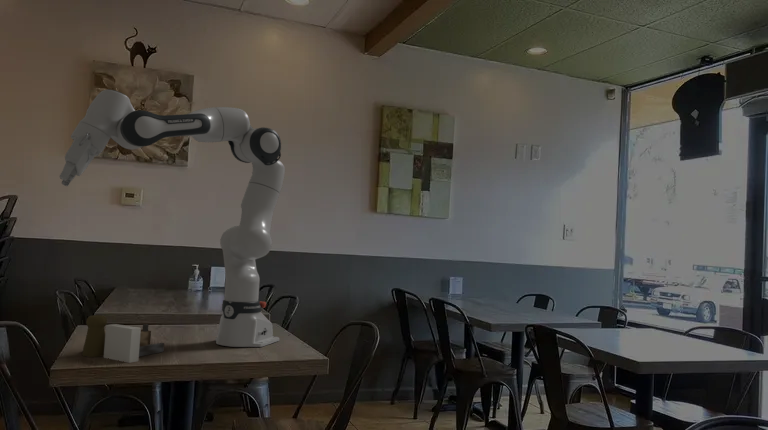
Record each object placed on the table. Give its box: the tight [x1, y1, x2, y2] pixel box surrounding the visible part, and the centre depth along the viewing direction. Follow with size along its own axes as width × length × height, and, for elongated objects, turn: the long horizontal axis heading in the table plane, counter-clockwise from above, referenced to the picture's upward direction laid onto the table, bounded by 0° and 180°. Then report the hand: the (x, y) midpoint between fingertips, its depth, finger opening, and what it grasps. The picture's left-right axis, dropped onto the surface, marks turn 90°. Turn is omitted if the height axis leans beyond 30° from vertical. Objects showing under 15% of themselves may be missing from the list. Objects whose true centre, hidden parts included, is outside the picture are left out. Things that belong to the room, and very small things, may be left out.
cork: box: [81, 314, 108, 358], centre depth 161 cm, size 6×6×11 cm
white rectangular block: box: [103, 323, 142, 364], centre depth 158 cm, size 10×4×9 cm, turn 65°
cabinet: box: [105, 323, 165, 357], centre depth 168 cm, size 12×15×8 cm
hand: (63, 182), depth 157 cm, fingers open, 8 cm apart
